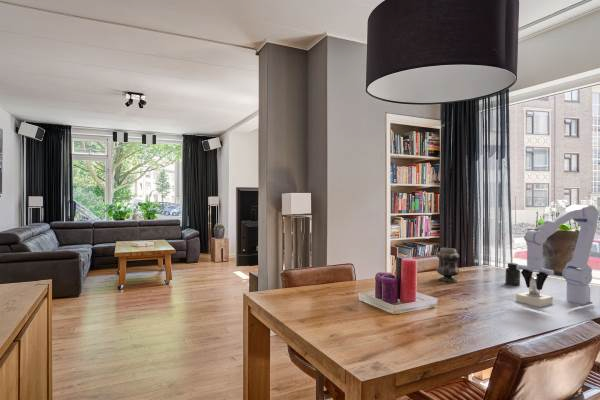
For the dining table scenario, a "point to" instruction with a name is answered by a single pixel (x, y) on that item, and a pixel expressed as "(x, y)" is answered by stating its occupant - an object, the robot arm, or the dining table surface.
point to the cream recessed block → (533, 299)
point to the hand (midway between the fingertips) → (534, 288)
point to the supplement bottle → (512, 275)
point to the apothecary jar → (447, 264)
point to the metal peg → (533, 286)
